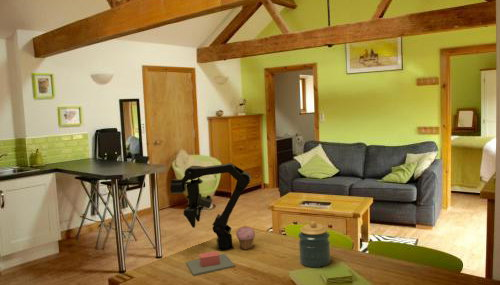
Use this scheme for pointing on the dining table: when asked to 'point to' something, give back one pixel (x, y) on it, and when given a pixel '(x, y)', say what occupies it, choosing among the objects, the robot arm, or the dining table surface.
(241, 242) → the cupcake
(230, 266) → the mat
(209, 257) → the red block
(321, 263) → the canister
